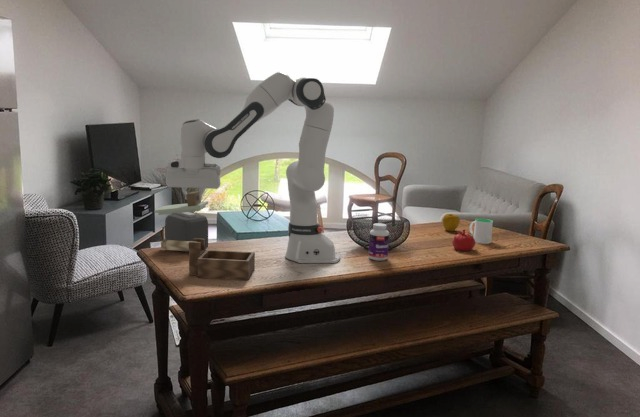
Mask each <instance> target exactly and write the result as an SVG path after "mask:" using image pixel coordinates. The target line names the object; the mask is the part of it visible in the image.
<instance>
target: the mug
mask: <svg viewBox="0 0 640 417" xmlns="http://www.w3.org/2000/svg"><path fill="white" fill-rule="evenodd" d="M493 223H494V221H493V219H492V220H491V219H489V218H488V219H487V218H475V220H474V221H471V222H470V224H469V228H468V229H469V233H471V234H470V235H471V236H473V238H474V239H475V244H476V243H477V244H482V245H488V244H489V243H490V244H491V243H492V236H493V234H492V232H493V225H494V224H493ZM473 225H474V229H473Z"/></svg>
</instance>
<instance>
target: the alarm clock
mask: <svg viewBox="0 0 640 417" xmlns="http://www.w3.org/2000/svg"><path fill="white" fill-rule="evenodd" d="M164 222H165V223H164V225H165V226H164V228H165V230H164V232H165V240H174V241H193V239H194V238H201V239H205V250H206V249H207V248H208V247H209V221H208V217H206V216H205V215H202V214H200V213H199V214H198V213H194V212H184V213H173V214H167V216H166V217H165V219H164ZM207 250H208V249H207ZM181 252H182V253H185V252H189V251H181Z"/></svg>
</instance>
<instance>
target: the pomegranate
mask: <svg viewBox="0 0 640 417" xmlns="http://www.w3.org/2000/svg"><path fill="white" fill-rule="evenodd" d="M451 243H452V246H453V249H455V250H456V251H459V252H469V251H471V250H473V249H474V247H475V246H476V242H475V239H474V236H473V235H472V234H471V233H470V231H469V232H468V231H467V232H466V229H462V232H460V231H457V232H456V235H455V236H454V237H453V239H452V241H451Z"/></svg>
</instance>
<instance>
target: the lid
mask: <svg viewBox="0 0 640 417" xmlns="http://www.w3.org/2000/svg"><path fill="white" fill-rule="evenodd" d="M187 193H188V192H187ZM200 193H201V191H200V190H197V191H191V192H189V193H188V194H186V197H187V199H186V202H187V203H178V204H170V205H164V206H161V207H158V208H156V209H155V210H154V213H155V214H158V216H162V215H171V214H177V213H184V212H192V213H194V212H199V211H202V210H203V209H205V208H206V206H207V205H209V201H207V200H206V201H202V200H197V195H200Z"/></svg>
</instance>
